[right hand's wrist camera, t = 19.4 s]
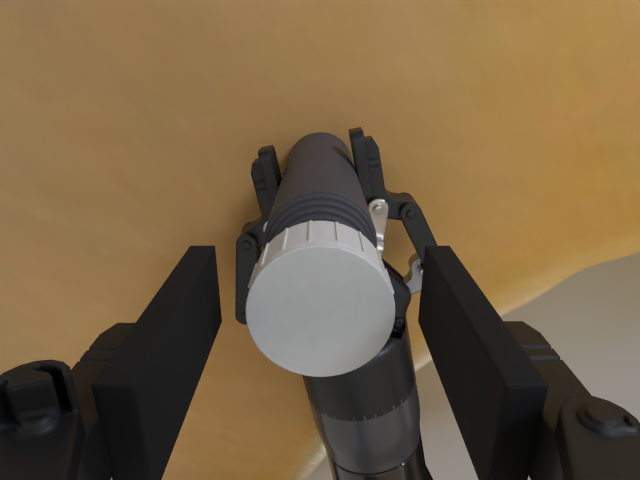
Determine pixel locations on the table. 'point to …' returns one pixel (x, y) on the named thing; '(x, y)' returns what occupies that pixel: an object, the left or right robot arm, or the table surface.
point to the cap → (320, 300)
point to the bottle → (320, 189)
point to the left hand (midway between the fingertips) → (310, 140)
